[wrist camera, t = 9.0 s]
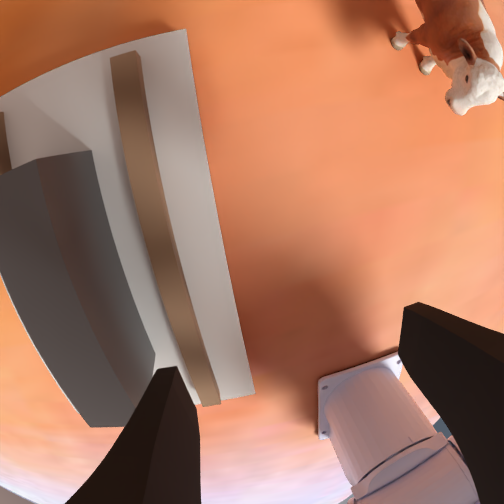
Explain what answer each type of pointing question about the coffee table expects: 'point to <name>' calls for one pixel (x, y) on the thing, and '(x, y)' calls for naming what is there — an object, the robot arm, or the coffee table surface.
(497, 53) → the bull figurine
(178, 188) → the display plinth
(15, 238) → the grey rectangular block
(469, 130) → the coffee table surface
